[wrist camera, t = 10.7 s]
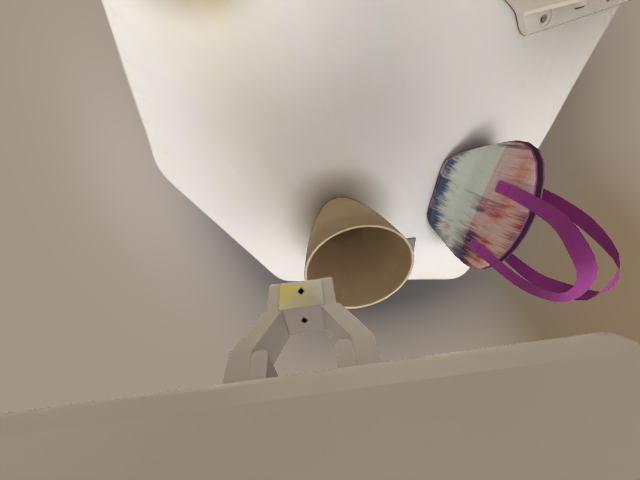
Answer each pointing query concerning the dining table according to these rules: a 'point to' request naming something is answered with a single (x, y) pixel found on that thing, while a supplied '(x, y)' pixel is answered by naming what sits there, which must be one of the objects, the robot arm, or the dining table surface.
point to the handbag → (512, 218)
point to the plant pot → (357, 253)
